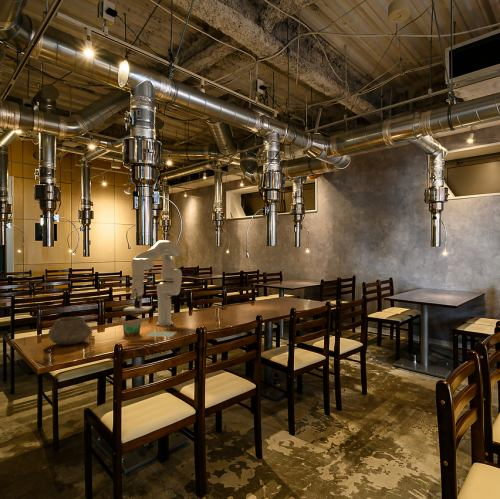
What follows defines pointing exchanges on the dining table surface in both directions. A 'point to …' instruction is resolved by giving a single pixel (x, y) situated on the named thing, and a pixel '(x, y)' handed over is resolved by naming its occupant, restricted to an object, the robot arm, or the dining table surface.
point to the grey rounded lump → (69, 331)
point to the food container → (131, 328)
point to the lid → (137, 308)
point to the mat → (161, 334)
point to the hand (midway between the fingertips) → (138, 306)
